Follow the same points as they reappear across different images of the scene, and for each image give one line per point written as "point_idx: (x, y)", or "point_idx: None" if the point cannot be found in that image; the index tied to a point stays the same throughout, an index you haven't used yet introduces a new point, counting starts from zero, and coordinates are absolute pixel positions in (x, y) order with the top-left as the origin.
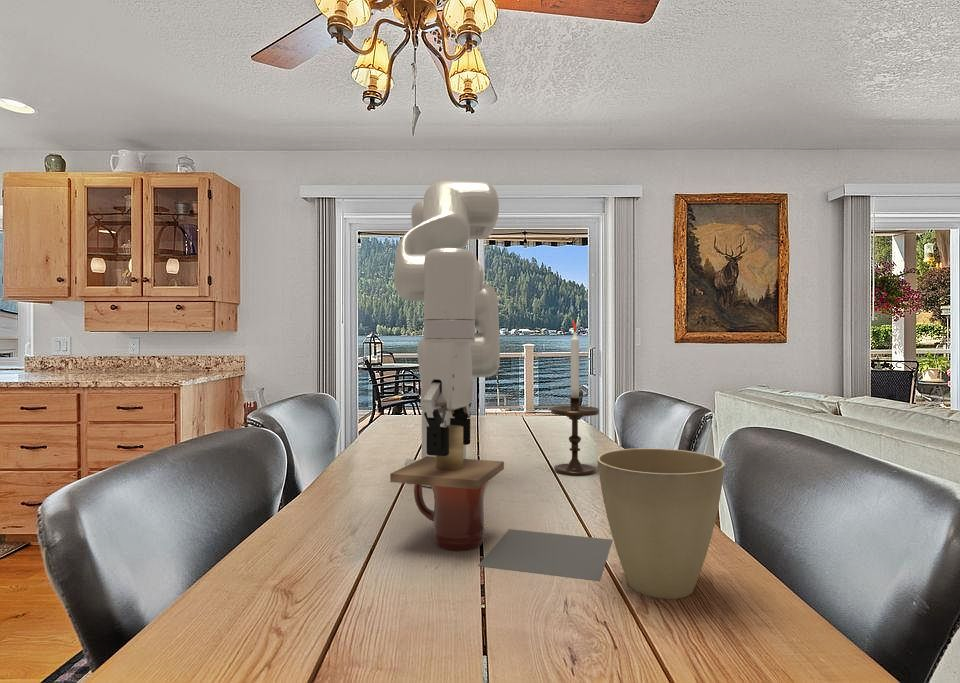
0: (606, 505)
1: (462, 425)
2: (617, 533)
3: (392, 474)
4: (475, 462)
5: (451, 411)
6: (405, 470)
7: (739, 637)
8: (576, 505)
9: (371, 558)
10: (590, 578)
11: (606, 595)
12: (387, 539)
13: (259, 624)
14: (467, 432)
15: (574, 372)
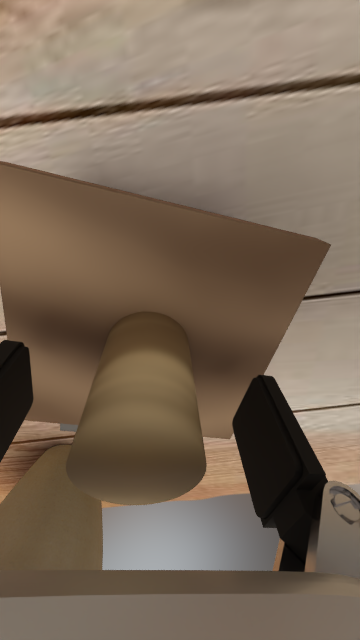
0: (3, 530)
1: (260, 476)
2: (10, 501)
3: None
4: (217, 393)
5: (318, 529)
6: (64, 215)
7: (2, 485)
8: (331, 410)
9: (47, 126)
10: (63, 424)
11: (39, 430)
12: (166, 133)
13: None
14: (242, 460)
15: None
